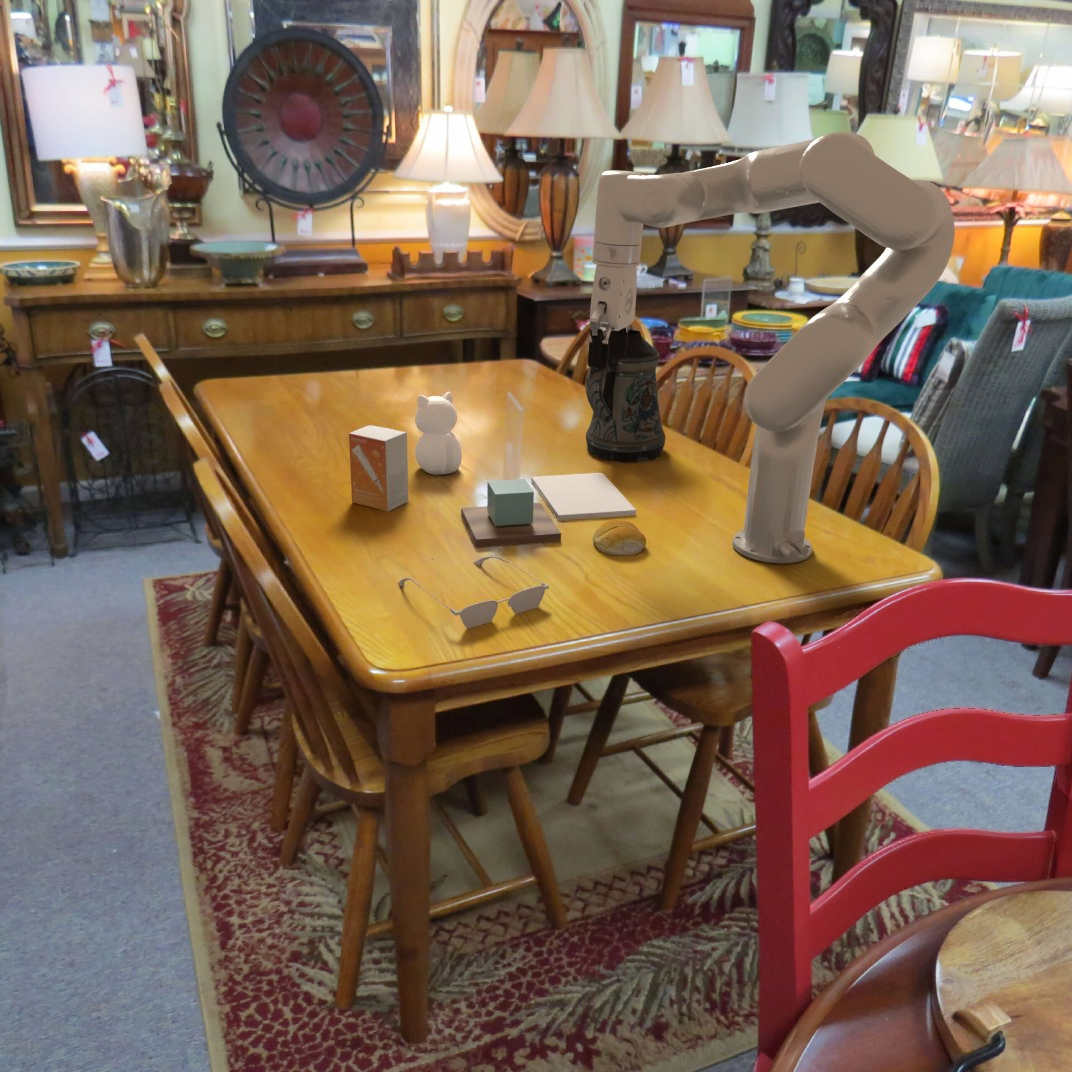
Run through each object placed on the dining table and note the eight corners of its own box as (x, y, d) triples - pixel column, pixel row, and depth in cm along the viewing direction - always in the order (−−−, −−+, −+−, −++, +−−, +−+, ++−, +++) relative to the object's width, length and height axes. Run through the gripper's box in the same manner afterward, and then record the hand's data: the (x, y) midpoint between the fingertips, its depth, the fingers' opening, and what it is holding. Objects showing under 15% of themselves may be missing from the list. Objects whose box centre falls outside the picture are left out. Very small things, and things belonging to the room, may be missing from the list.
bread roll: (633, 533, 164) (635, 511, 163) (650, 555, 156) (652, 532, 155) (585, 536, 163) (587, 514, 161) (601, 558, 155) (602, 535, 153)
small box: (351, 503, 173) (347, 432, 168) (373, 493, 179) (370, 423, 174) (387, 512, 170) (385, 440, 165) (409, 501, 175) (407, 431, 170)
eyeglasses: (456, 636, 131) (456, 609, 129) (391, 586, 144) (391, 562, 142) (549, 608, 139) (550, 582, 138) (480, 563, 152) (480, 539, 151)
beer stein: (669, 443, 211) (679, 327, 201) (654, 471, 193) (664, 345, 184) (594, 436, 215) (600, 321, 205) (573, 462, 197) (578, 338, 188)
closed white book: (635, 515, 171) (636, 509, 171) (558, 520, 168) (558, 515, 168) (601, 477, 189) (602, 472, 189) (531, 481, 186) (531, 476, 186)
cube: (533, 523, 162) (533, 492, 159) (494, 525, 160) (495, 494, 158) (524, 509, 167) (524, 478, 165) (487, 511, 166) (487, 481, 164)
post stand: (560, 541, 160) (562, 504, 157) (476, 548, 157) (476, 510, 154) (540, 510, 172) (541, 475, 170) (461, 516, 169) (461, 480, 167)
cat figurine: (449, 459, 198) (447, 386, 192) (475, 477, 187) (474, 400, 182) (407, 465, 194) (404, 390, 188) (431, 484, 183) (429, 405, 178)
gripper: (622, 263, 146) (612, 376, 153) (654, 251, 161) (643, 354, 168) (575, 257, 148) (567, 368, 155) (611, 246, 163) (602, 348, 170)
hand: (607, 361), depth 162 cm, fingers open, 9 cm apart
